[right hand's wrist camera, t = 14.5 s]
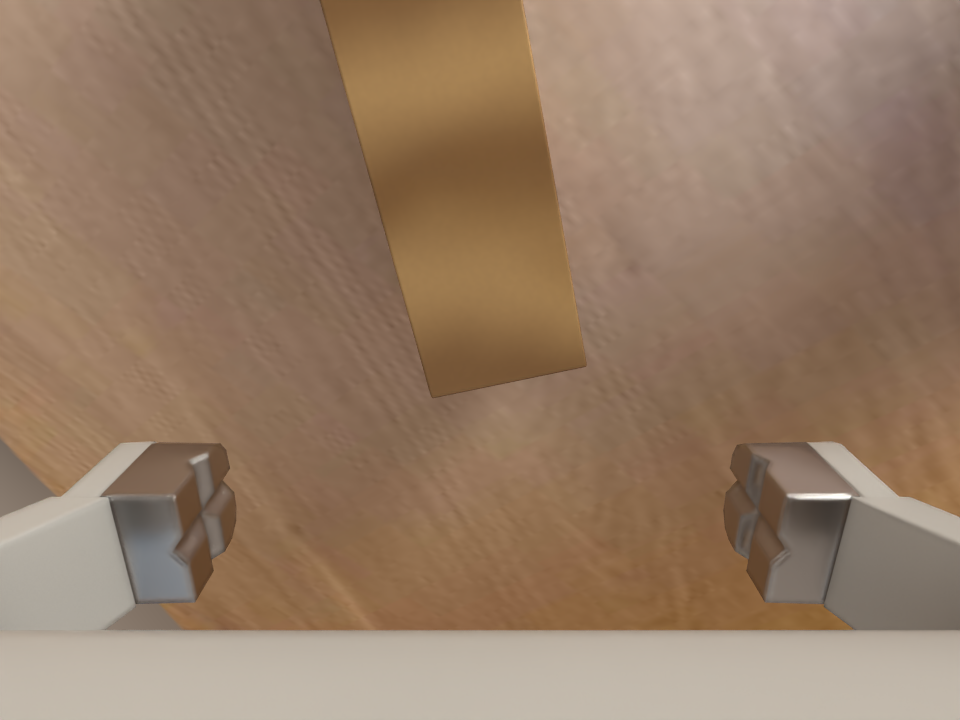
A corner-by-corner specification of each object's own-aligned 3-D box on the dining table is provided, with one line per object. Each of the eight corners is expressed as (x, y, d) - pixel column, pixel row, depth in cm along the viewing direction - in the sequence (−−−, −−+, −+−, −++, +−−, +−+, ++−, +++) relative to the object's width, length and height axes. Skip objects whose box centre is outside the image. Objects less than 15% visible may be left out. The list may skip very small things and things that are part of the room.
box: (560, 301, 33) (587, 367, 24) (443, 327, 33) (431, 399, 25) (444, -324, 24) (424, -561, 15) (286, -276, 24) (184, -479, 16)
